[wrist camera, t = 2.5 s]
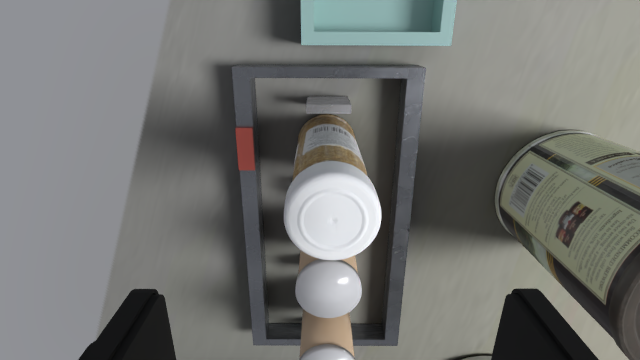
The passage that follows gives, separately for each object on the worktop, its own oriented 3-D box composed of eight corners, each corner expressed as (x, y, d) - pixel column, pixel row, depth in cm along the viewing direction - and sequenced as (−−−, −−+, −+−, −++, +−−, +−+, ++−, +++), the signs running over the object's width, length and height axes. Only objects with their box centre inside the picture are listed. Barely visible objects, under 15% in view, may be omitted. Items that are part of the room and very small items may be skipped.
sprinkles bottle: (289, 155, 30) (267, 243, 17) (312, 102, 28) (306, 157, 16) (341, 177, 31) (355, 277, 18) (366, 127, 29) (401, 198, 17)
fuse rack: (418, 65, 27) (431, 69, 24) (393, 329, 36) (400, 358, 33) (237, 64, 27) (226, 68, 24) (256, 329, 36) (250, 358, 33)
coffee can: (611, 236, 33) (808, 373, 19) (491, 249, 33) (604, 392, 20) (631, 119, 29) (892, 192, 16) (495, 136, 29) (638, 220, 16)
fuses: (351, 201, 31) (363, 263, 23) (347, 309, 35) (356, 395, 27) (301, 201, 31) (294, 263, 23) (303, 309, 35) (297, 395, 27)
